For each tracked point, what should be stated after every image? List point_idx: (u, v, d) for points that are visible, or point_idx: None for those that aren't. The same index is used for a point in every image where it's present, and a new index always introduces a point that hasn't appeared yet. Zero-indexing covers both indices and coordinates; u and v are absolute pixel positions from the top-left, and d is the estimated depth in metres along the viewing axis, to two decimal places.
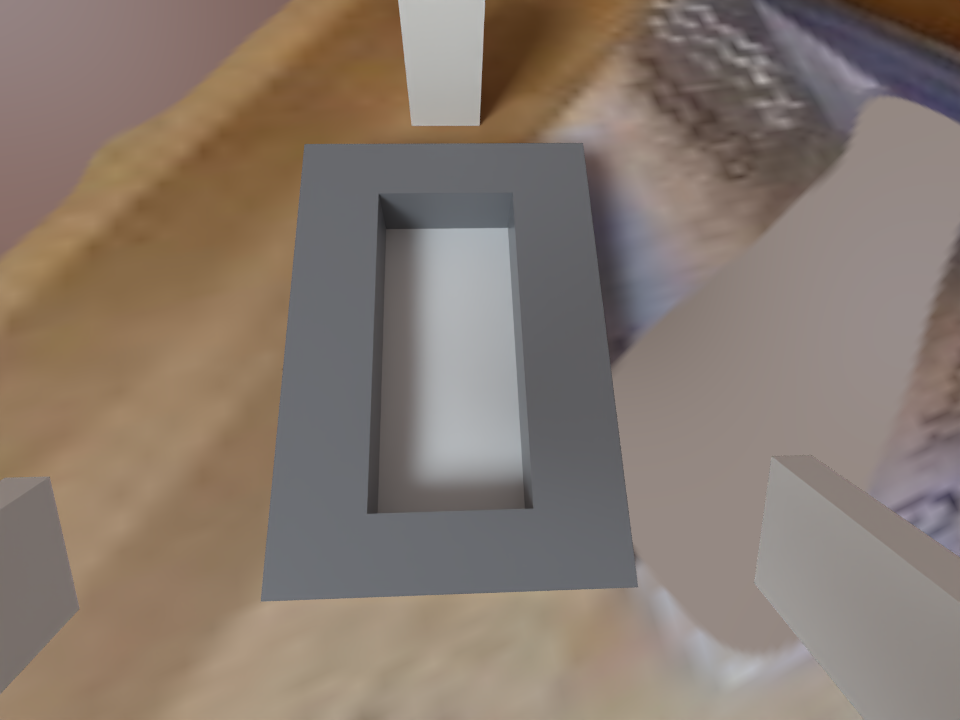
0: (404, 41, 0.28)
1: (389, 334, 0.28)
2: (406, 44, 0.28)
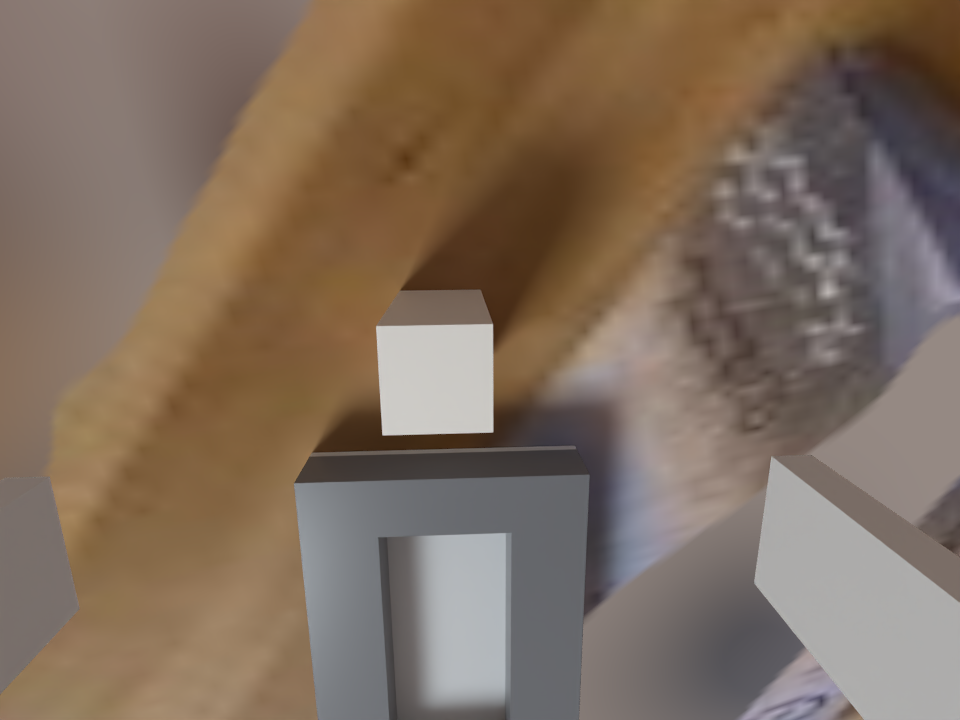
0: None
1: (396, 603, 0.32)
2: None
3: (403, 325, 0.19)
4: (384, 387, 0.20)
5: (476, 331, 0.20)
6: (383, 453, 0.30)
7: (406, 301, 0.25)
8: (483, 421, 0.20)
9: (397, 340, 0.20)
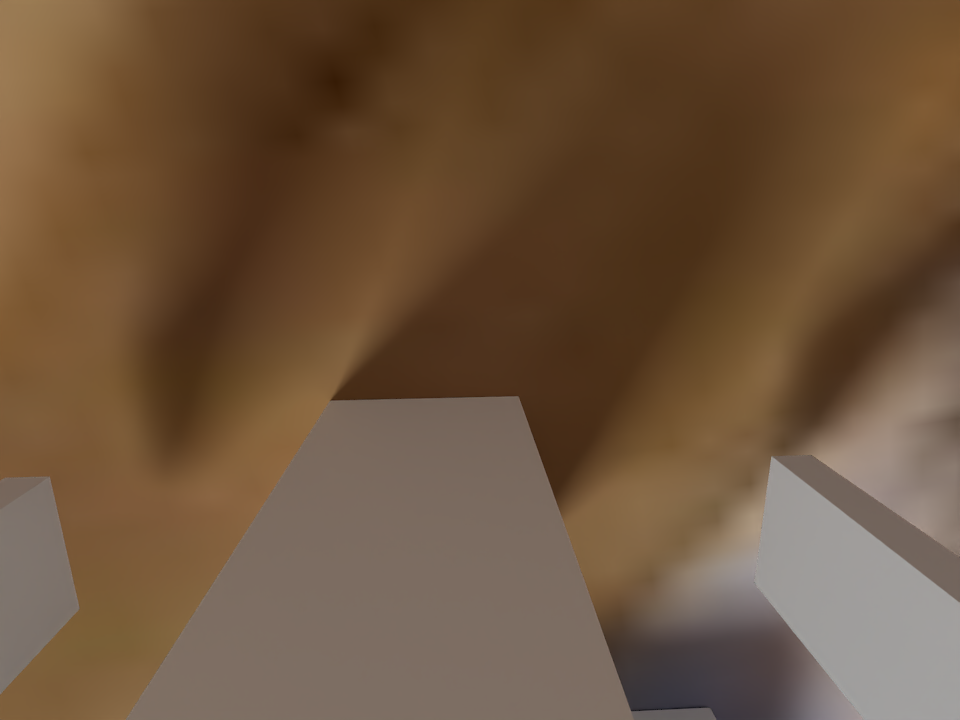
0: None
1: None
2: None
3: None
4: None
5: None
6: None
7: (322, 474, 0.09)
8: None
9: None
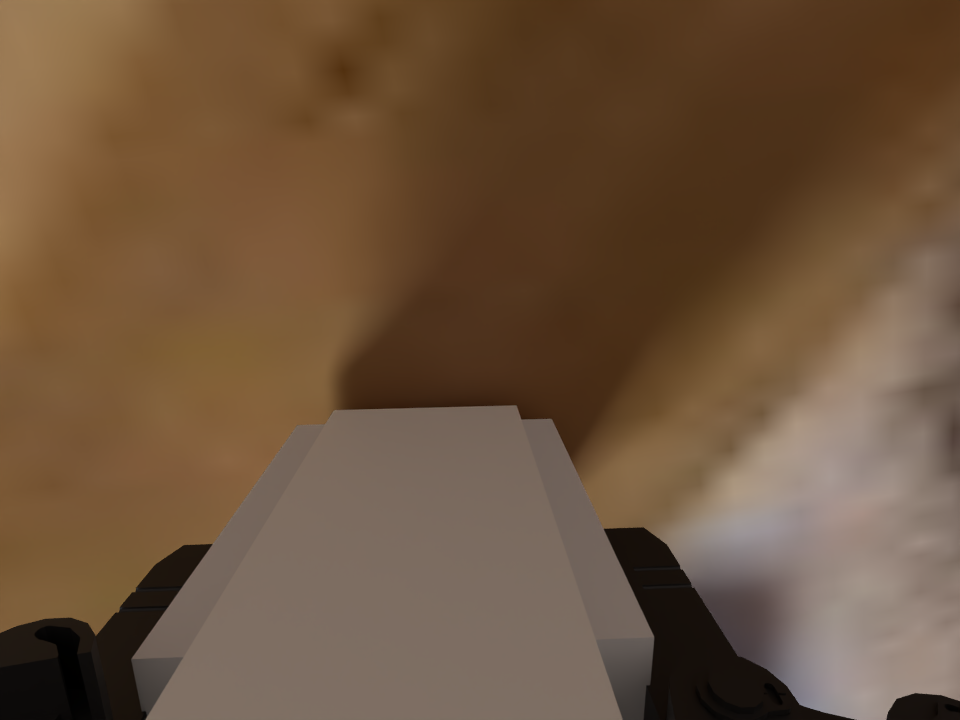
0: None
1: None
2: None
3: None
4: None
5: None
6: None
7: (327, 483, 0.09)
8: None
9: None
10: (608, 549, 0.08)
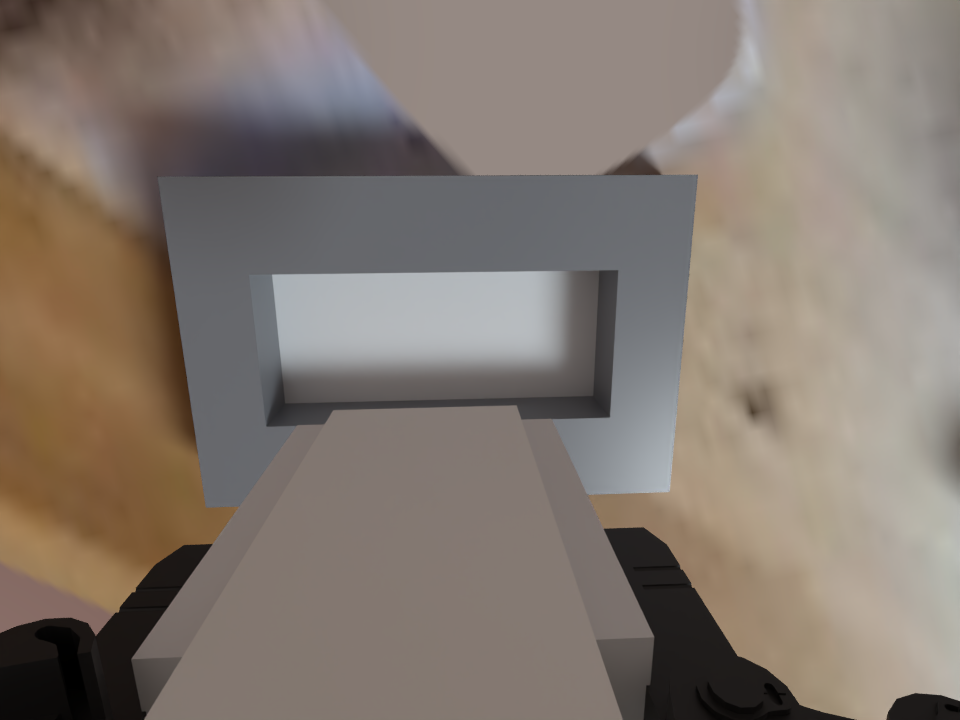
0: None
1: (412, 394, 0.27)
2: None
3: None
4: None
5: None
6: None
7: (326, 483, 0.09)
8: None
9: None
10: (608, 549, 0.08)
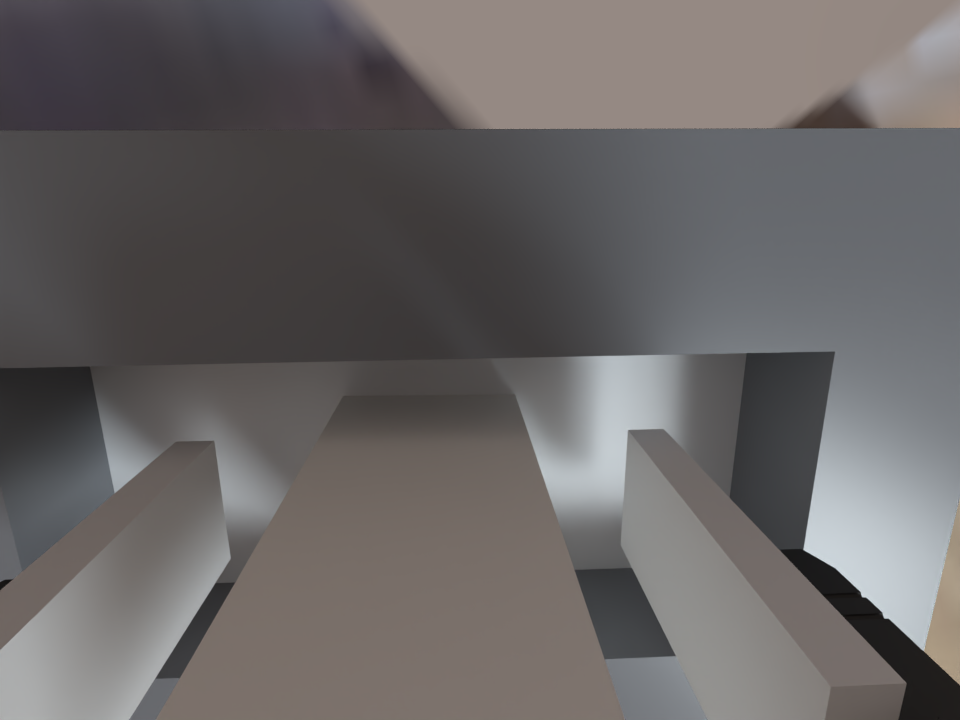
0: None
1: None
2: None
3: None
4: None
5: None
6: None
7: (340, 461, 0.10)
8: None
9: None
10: (801, 577, 0.07)
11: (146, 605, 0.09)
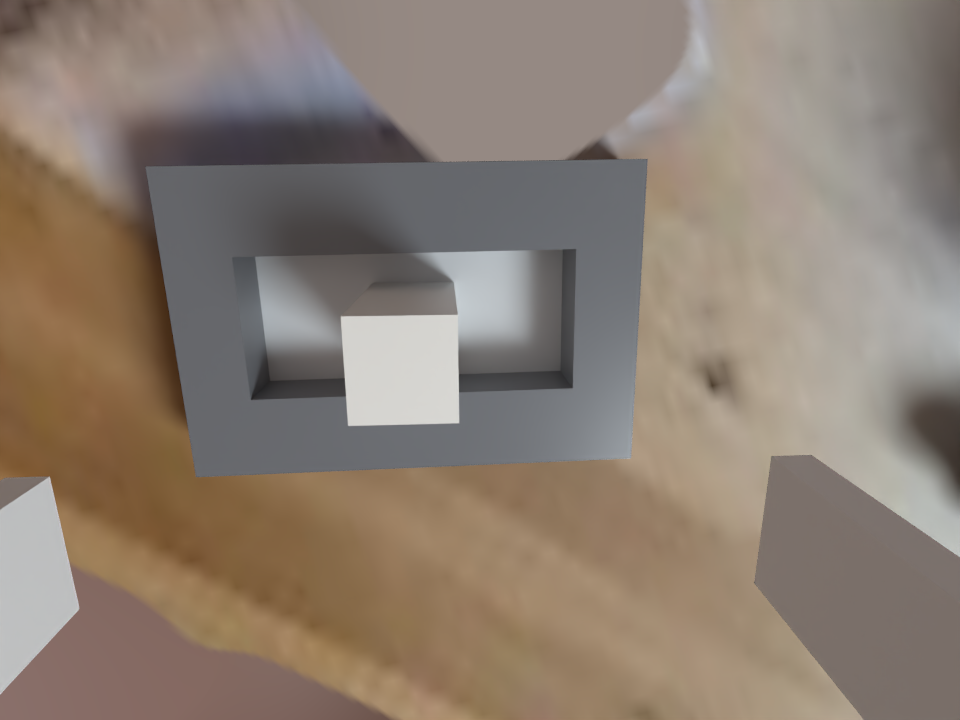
0: None
1: None
2: None
3: (368, 315, 0.19)
4: (349, 377, 0.20)
5: (441, 321, 0.20)
6: None
7: (376, 293, 0.25)
8: (449, 412, 0.20)
9: (362, 330, 0.20)
10: None
11: None
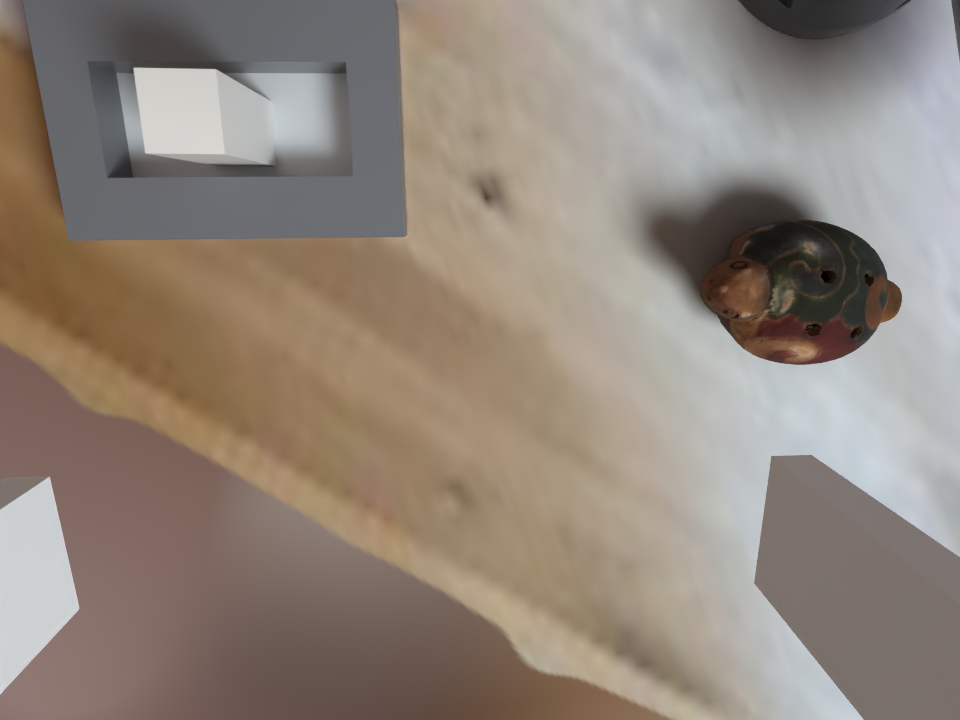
0: (177, 158, 0.32)
1: (226, 174, 0.38)
2: (180, 159, 0.32)
3: (153, 68, 0.28)
4: (143, 115, 0.29)
5: (204, 74, 0.28)
6: None
7: None
8: (216, 145, 0.29)
9: (149, 79, 0.28)
10: None
11: None
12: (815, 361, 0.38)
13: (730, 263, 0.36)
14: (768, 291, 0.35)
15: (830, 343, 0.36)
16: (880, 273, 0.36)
